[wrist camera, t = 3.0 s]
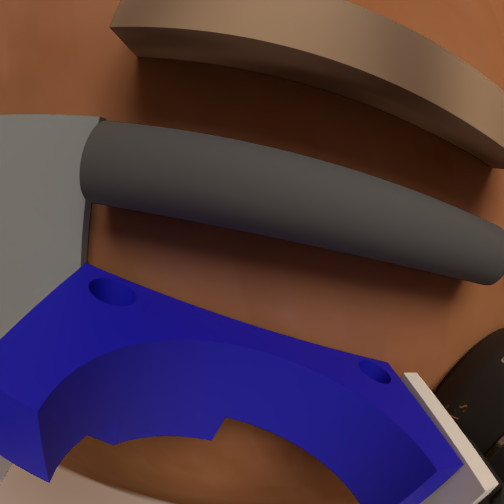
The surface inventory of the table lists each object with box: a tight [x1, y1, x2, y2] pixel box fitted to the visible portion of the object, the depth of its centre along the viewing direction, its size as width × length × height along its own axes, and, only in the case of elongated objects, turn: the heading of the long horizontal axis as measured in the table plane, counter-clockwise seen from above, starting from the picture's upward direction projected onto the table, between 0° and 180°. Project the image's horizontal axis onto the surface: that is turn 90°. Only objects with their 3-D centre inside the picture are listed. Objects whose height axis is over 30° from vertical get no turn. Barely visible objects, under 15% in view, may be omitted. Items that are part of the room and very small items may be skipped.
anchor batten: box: [109, 0, 504, 169], centre depth 7 cm, size 14×2×2 cm, turn 78°
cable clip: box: [0, 263, 464, 504], centre depth 8 cm, size 12×4×6 cm, turn 67°
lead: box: [79, 121, 504, 285], centre depth 8 cm, size 14×2×2 cm
